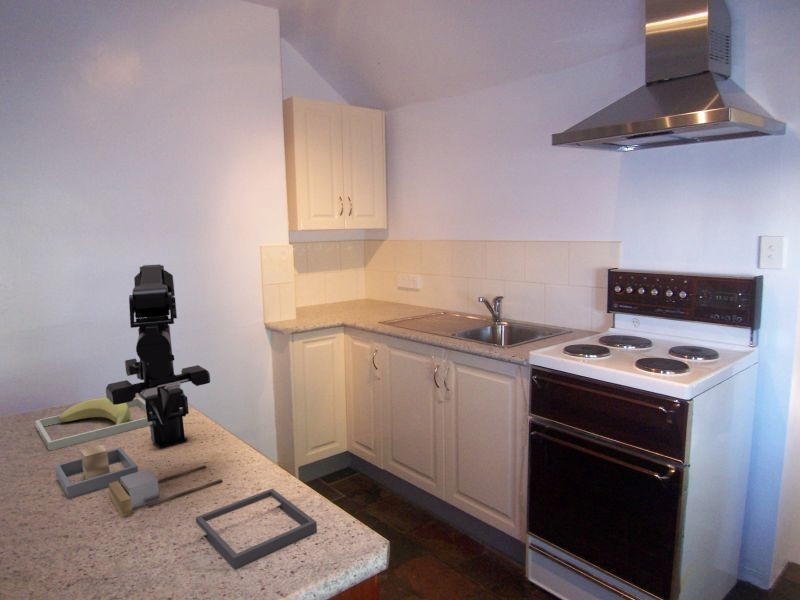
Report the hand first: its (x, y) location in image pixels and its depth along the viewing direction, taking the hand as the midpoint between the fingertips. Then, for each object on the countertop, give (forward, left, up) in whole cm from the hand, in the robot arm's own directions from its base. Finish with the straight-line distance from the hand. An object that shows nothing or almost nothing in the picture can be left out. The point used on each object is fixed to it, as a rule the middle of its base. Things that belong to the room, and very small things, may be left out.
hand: (163, 423), depth 114 cm
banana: (+4, -43, -12) cm, 45 cm away
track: (+4, +8, -12) cm, 15 cm away
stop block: (+12, -8, -11) cm, 18 cm away
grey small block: (+8, +8, -10) cm, 15 cm away
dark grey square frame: (-4, +31, -12) cm, 33 cm away
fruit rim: (+4, -43, -12) cm, 45 cm away
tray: (+12, -8, -12) cm, 18 cm away
